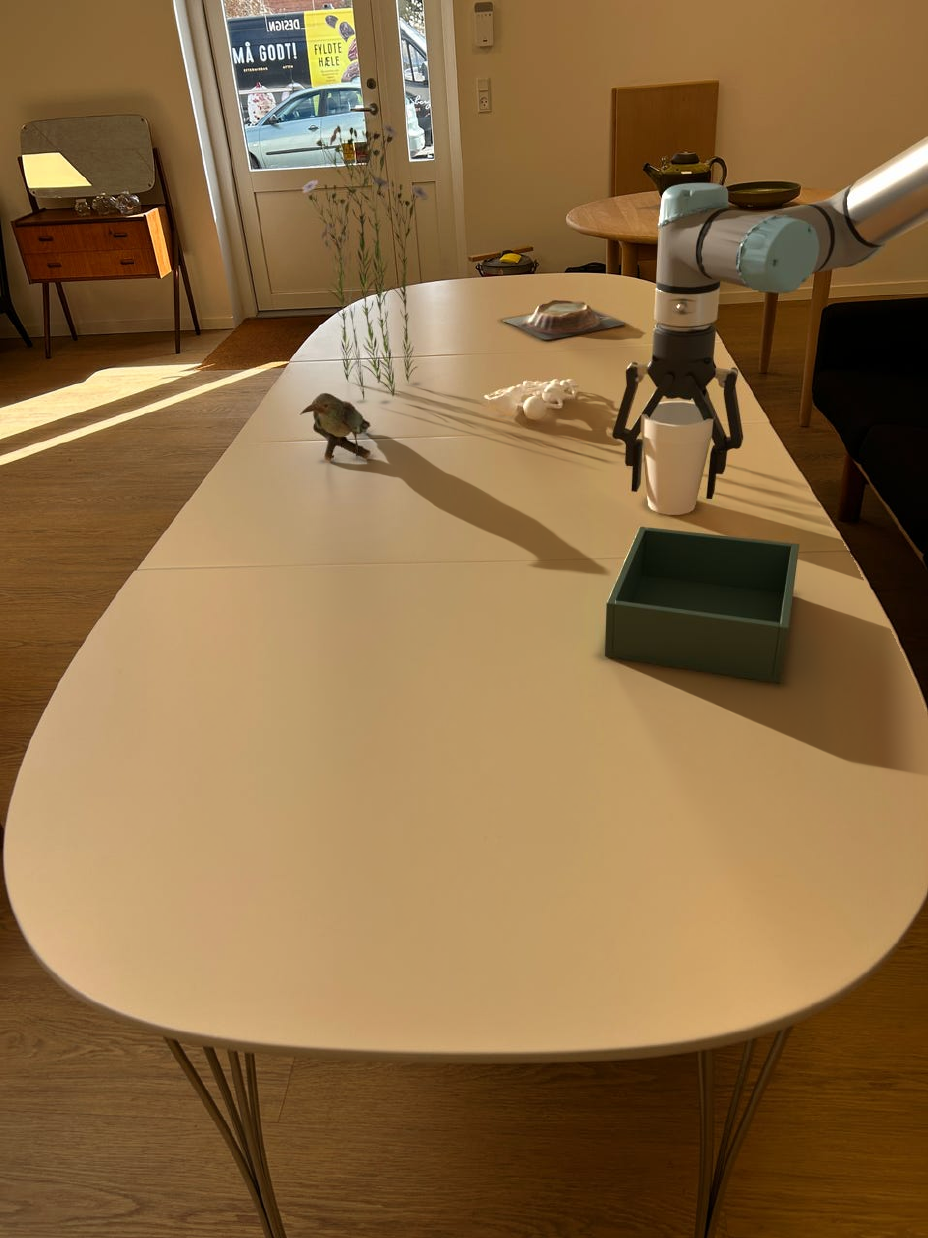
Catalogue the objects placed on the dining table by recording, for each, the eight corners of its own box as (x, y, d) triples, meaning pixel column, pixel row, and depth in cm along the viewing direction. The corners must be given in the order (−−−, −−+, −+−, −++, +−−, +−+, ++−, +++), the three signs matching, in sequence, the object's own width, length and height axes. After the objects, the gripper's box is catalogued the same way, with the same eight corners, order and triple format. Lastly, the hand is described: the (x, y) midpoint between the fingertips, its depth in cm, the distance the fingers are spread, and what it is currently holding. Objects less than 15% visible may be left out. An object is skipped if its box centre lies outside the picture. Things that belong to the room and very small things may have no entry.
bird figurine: (335, 423, 158) (300, 340, 140) (391, 426, 156) (362, 343, 138) (316, 489, 153) (277, 411, 135) (374, 493, 150) (341, 415, 133)
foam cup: (644, 487, 132) (648, 398, 125) (710, 493, 129) (719, 402, 122) (631, 516, 125) (635, 423, 118) (701, 523, 122) (710, 428, 115)
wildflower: (345, 369, 186) (314, 114, 162) (455, 373, 180) (439, 109, 156) (299, 408, 168) (256, 127, 144) (419, 414, 162) (395, 122, 138)
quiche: (580, 306, 218) (580, 288, 216) (628, 325, 202) (628, 306, 200) (500, 320, 211) (499, 302, 209) (542, 341, 195) (542, 322, 193)
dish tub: (791, 595, 106) (799, 543, 103) (779, 683, 92) (788, 628, 89) (637, 575, 112) (639, 526, 108) (604, 656, 98) (606, 603, 94)
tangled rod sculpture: (528, 387, 174) (526, 365, 172) (598, 392, 167) (597, 368, 165) (471, 418, 161) (469, 394, 159) (544, 424, 153) (543, 399, 151)
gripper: (589, 327, 115) (586, 494, 127) (776, 335, 108) (754, 511, 120) (603, 311, 120) (599, 472, 132) (781, 318, 114) (759, 487, 126)
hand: (672, 491), depth 126 cm, fingers closed on foam cup, 9 cm apart
